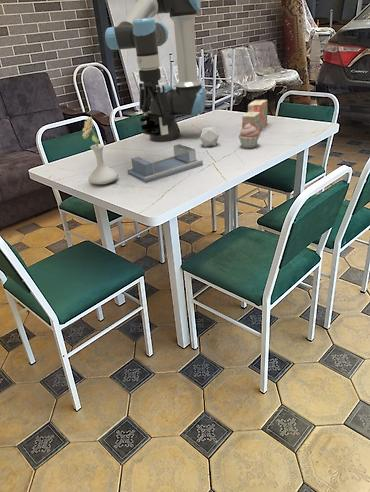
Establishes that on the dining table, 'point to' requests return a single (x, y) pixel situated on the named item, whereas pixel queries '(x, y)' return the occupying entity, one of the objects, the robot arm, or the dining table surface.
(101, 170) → the flower in vase
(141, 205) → the dining table surface
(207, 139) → the die
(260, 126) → the stack of blocks
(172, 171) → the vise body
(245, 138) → the cupcake
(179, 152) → the block
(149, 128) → the end cap
